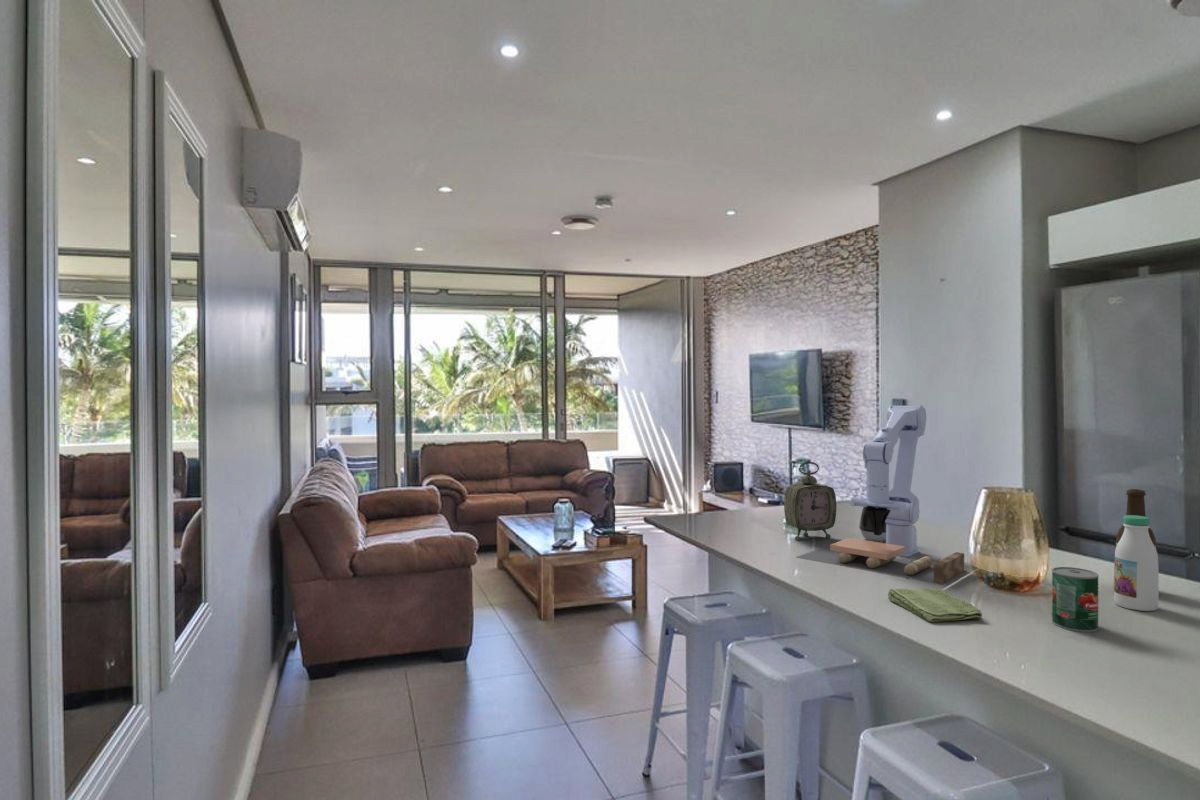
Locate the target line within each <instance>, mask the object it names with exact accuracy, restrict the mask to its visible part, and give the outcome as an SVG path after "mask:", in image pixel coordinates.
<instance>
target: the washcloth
mask: <svg viewBox="0 0 1200 800" xmlns="http://www.w3.org/2000/svg"><path fill="white" fill-rule="evenodd" d="M887 597H888V600H889V601H890V602H892V603H894V604H896V605H897V606H899V607H901V608H902V609H904V610H906V611H908V612H910V613H913V614H915V615H917V616H919V617H921V618H922V619H924V620H926V621H927V622H929V623H939V622H940V623H942V622H952V621H962V620H963V621H964V620H973V619H981V618H982V617H983V613H982V612H981V610H980V609H978V608H977V607H976V606H974V605H973V604H972V603H969V602H967V601H966V600H963V599H960V598H958V597H956V596H953V595H951V594H950V593H948V592H946V591H944V590H941V589H939V588H934V587H933V588H932V587H924V588H921V587H918V588H890V589H889V591H888V593H887Z"/></svg>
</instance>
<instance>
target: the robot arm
mask: <svg viewBox="0 0 1200 800" xmlns="http://www.w3.org/2000/svg"><path fill="white" fill-rule="evenodd" d="M886 421H887V423H886V425H885V427H884V426H882V427H881V428H880V429H879V430H878V432H877V433H876V434H875V436H874V438H873V439H872V440H871V441H868V442H867V443H865V444H864V445H863V449H862V458H863V461H864V463H863V464H864V469H866V498H858V497H857V498H855V497H854V498H850V506H851V507H862V508H863V507H867V509H866V510H865V512H866V514H867V516H868V518H869V520H870V522H871V525H872V528H873V532H874V535H882V530H883V526H884V523H886V541H885V543H887V544H893V545H899V546H905V552H904V553H901V554H899V555H898V556H900V557H906V558H907V557H910V556H913V555H915V554H917V553H920V552H921V549H918V545H917V543H918V542H917V540H918V539H917V537H918V534H917V533H918V531H917V527H916V526H915V524H916V523H917V522H918V520H919V518H920V500H919V498H918V497H917V496H916V495H915V494H914V493H913V492H912V490H911V487H912V481H913V476H914V475H913V474H914V468H915V460H916V459H915V458H916V452H917V444H918V441H919V438H921V437H922V436H924V435H925V431H926V425H927V423H926V422H927V410H926V408H925V407H924V406H923V405H922V404H921V405H894V404H890V405H889V407H888V408H887V409H886ZM898 441H899V444H898V450H897V456H896V462H895V463H896V464H895V469H894V477H893V485H892V488H891V489H890V463H891V462H892V460H893V455H894V452H895V451H894V448H895V446H896V445H897V443H898Z"/></svg>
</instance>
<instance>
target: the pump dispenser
mask: <svg viewBox="0 0 1200 800" xmlns="http://www.w3.org/2000/svg"><path fill="white" fill-rule="evenodd" d="M866 509H867V507H862V509H861V514H860V519H859V526H858V527H859V530H860V533H861V535H862V537H863V538H864V540H867V541H874V542H880V543H886V523H884V526H883V530H882V535H874V532H873V528H872V525H871V522H870V520H869V518H868V516H867V514H866V512H865V510H866Z"/></svg>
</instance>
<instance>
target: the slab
mask: <svg viewBox="0 0 1200 800" xmlns="http://www.w3.org/2000/svg"><path fill="white" fill-rule="evenodd" d="M829 547H830V550H833V551H839V552H844V553H850V554H856V555H862V556H868V557H873V558H879V559H885V560H888V559H890V558H892V557H895V556H896V557H897V556H900V555H899V554H901V553H904V552H905V546H899V545H893V544H887V543H886V542H874V541H869V540H867V539H860V538H854V537H847V538H845V539H842V540H839V541H837V542H834V543H831V544H829Z"/></svg>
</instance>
